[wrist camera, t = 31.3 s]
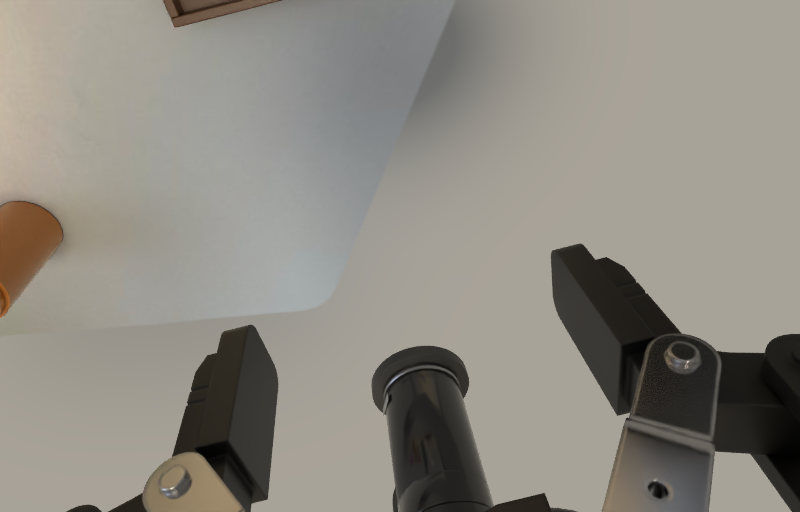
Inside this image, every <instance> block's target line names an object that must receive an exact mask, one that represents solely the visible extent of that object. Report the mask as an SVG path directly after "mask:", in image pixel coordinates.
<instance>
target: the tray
mask: <svg viewBox="0 0 800 512" xmlns="http://www.w3.org/2000/svg"><path fill="white" fill-rule="evenodd" d="M277 1H281V0H163V2H164V4H165V6H166V9H167V11H168V13H169V15H170V17H171V20H172V22H173V25H174V27H180V26H184V25H188V24H192V23H196V22H200V21H203V20H207V19H211V18H215V17H219V16H223V15H227V14H231V13H235V12H238V11H242V10H246V9H250V8H254V7H258V6H262V5H266V4H270V3H274V2H277Z"/></svg>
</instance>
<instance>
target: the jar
mask: <svg viewBox="0 0 800 512" xmlns="http://www.w3.org/2000/svg"><path fill="white" fill-rule="evenodd" d="M62 239H63V232H62V228H61V226H60V224H59V222H58V221H57V220H56V218H55V217H54V216H53V215H52V214H50V213H49V212H48V211H46V210H45V209H43V208H41V207H39V206H37V205H35V204H31V203H27V202H21V201H15V202H9V203H5V204H3V205H1V206H0V318H1V317H2V316H4V315H5V314H6V313H7V312H8V310H9V309H10V308H11V307H12V305H13V304H14V303H15V302H16V300H17V299H18V298H19V297H20V295H21V294H22V293H23V292H24V290H25V289H26V288H27V286H28V285H29V284H30V283H31V281H32V280H33V279H34V278H35V276H36V275H37V274H38V273H39V271H40V270H41V269H42V268H43V266H44V265H45V264H46V263H47V261H48V260H49V259H50V257H51V256H52V255H53V254H54V252H55V251H56V250H57V249H58V247H59V246H60V245H61V243H62Z"/></svg>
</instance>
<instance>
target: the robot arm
mask: <svg viewBox="0 0 800 512" xmlns="http://www.w3.org/2000/svg"><path fill="white" fill-rule="evenodd" d="M551 267H552V286H553V299H554V303H555V307H556V310H557V313H558V315H559V317H560V319H561V320H562V323H563V324H564V326H565V328H566V329H567V331H568V333H569V335H570V336H571V338H572V340H573V341H574V343H575V345H576V346H577V348H578V350H579V351H580V353H581V355H582V357H583V358H584V360H585V362H586V363H587V365H588V367H589V368H590V370H591V372H592V374H593V375H594V377H595V379H596V380H597V382H598V384H599V385H600V387H601V389H602V391H603V392H604V394H605V396H606V397H607V399H608V400H609V402H610V404H611V406H612V407H613V409H614V411H615V413H616V414H617V415H622V414H626V413H630V416H629V418H626V420H625V423H624V426H623V430H622V434H621V438H620V442H619V446H618V450H617V453H616V457H615V461H614V465H613V469H612V473H611V477H610V481H609V485H608V489H607V493H606V497H605V501H604V505H603V509H602V512H709V503H710V494H711V484H712V474H713V464H714V455H715V451H718V452H732V453H749V454H751V455H752V456H753V458H754V459H755V460H756V462H757V463H758V465H759V466H760V468H761V469H762V470H763V472H764V473H765V475H766V476H767V477H768V479H769V480H770V482H771V483H772V484H773V486H774V487H775V488H776V490H777V491H778V493H779V494H780V496H781V497H782V498H783V500H784V501H785V503H786V504H787V505H788V507H789V508H790V510H791V511H792V512H800V334H789V335H783V336H779V337H777V338H774V339H773V340H772V341H770V342H769V344H768V345H767V347H766V350H765V353H729V352H719V351H716V350H715V349H714V348H713V347H712V346H711V345H710V344H708V343H707V342H705V341H703V340H701V339H699V338H697V337H694V336H691V335H686V334H682V333H681V332H680V331H679V330H678V329H677V328H676V326H675V325H674V324H673V323H672V322H671V321H670V320H669V318H668V317H667V316H666V315H665V314H664V313H663V311H662V310H661V309H660V308H659V307H658V305H657V304H656V303H655V302H654V301H653V300H652V299H651V297H650V296H649V295H648V294H646V293H645V290H644V289H643V288H642V287H641V286H640V285H639V283H636V280H635V279H634V277H633V276H632V275H631V274H630V273H629V272H628V271H627V269H625V267H624V266H622V265H620V264H618V263H616V262H614V261H613V260H611V259H609V258H607V257H605V258H601V259H598V260H595V259H594V258H593V256H592V255H591V254H590V253H589V251H588V250H587V249H586V248H585V247H584V245H582V244H577V245H573V246H568V247H564V248H561V249H556V250H553V251H552V253H551ZM191 390H192V392H190V395H189V398H188V401H187V403H188V406H186V409H185V413H184V416H183V419H182V423H181V427H180V430H179V434H178V437H177V441H176V445H175V448H174V452H173V455H172V458H170V459H168V460H167V461H165V462H164V463H163V464H162V465H160V466H159V467H158V468H157V469H156V470H155V471H154V472H153V474H152V475H151V476H150V478H149V479H148V481H147V483H146V485H145V487H144V491H143V493H142V494H140V495H138V496H137V497H135V498H133V499H131V500H129V501H127V502H125V503H124V504H122V505H120V506H118V507H116V508H114V509H112V510H111V511H109V512H250V511H251V503H255V502H259V501H263V500H267V499H268V489H269V478H270V468H271V458H272V447H273V436H274V425H275V415H276V405H277V394H278V377H277V372H276V368H275V365H274V363H273V361H272V359H271V357H270V355H269V353H268V351H267V349H266V347H265V345H264V343H263V341H262V340H261V338H260V336H259V334H258V332H257V330H256V328H255V327H254V326H253V325H248V326H244V327H240V328H236V329H232V330H228V331H224V332H223V333H222V335H221V338H220V343H219V347H218V351H217V353H215V354H211V355H207V357H206V358H205V360H204V361H203V363H202V364H201V365H200V367H199V368H198V370H197V371H196V373H195V376H194V380H193V383H192V387H191ZM383 398H384V407H383V414H384V413H385V410H386V415H387V424H388V432H389V440H390V447H391V455H392V463H393V471H394V478H395V490H394V494H393V511H394V512H398V509H399V512H576V511H573V510H567V509H560V508H550V506H549V503H548V501H547V498H546V496H545V494H544V493H543V494H539V495H535V496H531V497H526V498H522V499H518V500H514V501H510V502H505V503H502V504H498V505H495V506H494V504H493V501H492V497H491V494H490V490H489V487H488V484H487V481H486V477H485V474H484V470H483V467H482V464H481V460H480V457H479V453H478V450H477V446H476V443H475V439H474V436H473V432H472V429H471V426H470V422H469V419H468V415H467V412H466V408H465V405H464V401H463V397H462V394H461V390H460V384H459V381H458V378H457V376H456V374H455V373H454V372H453V371H452V370H451V369H450V368H448V367H446V366H444V365H441V364H437V363H427V362H425V363H417V364H412V365H409V366H406V367H404V368H402V369H400V370H399V371H397V372H396V373H394V374H393V375H392V376H391V377H390V378H389V379H388V381H387V382H386V384H385V386H384V389H383ZM397 502H398V504H397ZM67 512H101V511H100V510H99V509H98V508H97V507H95V506H92V505H82V506H78V507H75V508H73V509H71V510H69V511H67Z"/></svg>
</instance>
